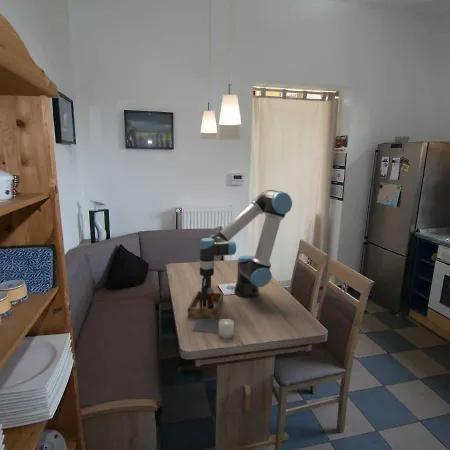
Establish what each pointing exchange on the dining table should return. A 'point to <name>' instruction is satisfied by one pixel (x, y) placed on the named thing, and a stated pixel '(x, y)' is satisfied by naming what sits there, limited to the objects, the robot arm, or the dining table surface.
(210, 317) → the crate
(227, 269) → the dining table surface
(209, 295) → the canned food
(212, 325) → the mat
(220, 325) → the off-white domed pebble
